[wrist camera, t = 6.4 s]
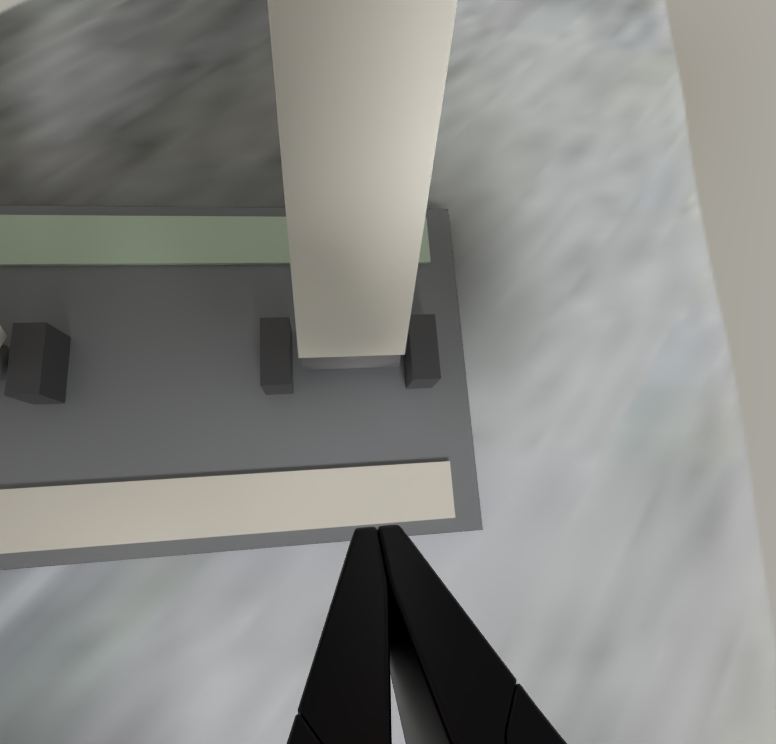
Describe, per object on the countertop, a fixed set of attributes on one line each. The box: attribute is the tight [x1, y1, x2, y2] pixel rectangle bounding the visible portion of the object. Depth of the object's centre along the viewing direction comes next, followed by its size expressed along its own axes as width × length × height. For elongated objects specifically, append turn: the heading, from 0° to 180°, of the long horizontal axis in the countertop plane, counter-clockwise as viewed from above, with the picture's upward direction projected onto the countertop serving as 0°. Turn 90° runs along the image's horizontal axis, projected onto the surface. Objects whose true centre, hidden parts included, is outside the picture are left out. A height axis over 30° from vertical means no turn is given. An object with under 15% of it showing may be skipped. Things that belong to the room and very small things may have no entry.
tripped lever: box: [267, 0, 458, 370], centre depth 13 cm, size 2×4×14 cm, turn 94°
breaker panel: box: [0, 205, 483, 570], centre depth 17 cm, size 13×22×2 cm, turn 94°
